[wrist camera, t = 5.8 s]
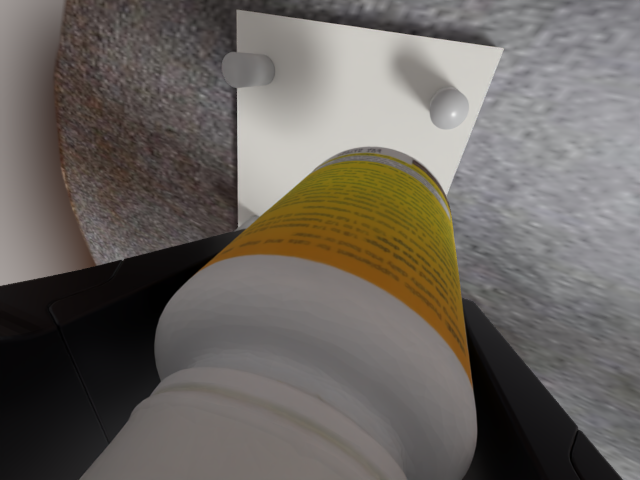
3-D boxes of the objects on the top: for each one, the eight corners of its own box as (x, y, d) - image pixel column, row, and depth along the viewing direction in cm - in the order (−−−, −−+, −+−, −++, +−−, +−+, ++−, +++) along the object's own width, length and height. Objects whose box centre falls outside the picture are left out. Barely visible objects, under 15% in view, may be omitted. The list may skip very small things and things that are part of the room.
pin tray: (406, 290, 24) (402, 328, 20) (245, 240, 26) (217, 267, 23) (499, 49, 15) (519, 44, 12) (247, 12, 18) (202, -1, 14)
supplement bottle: (295, 145, 11) (-129, 384, 3) (459, 138, 9) (694, 745, 1) (312, 271, 14) (121, 594, 5) (443, 284, 12) (471, 799, 4)
